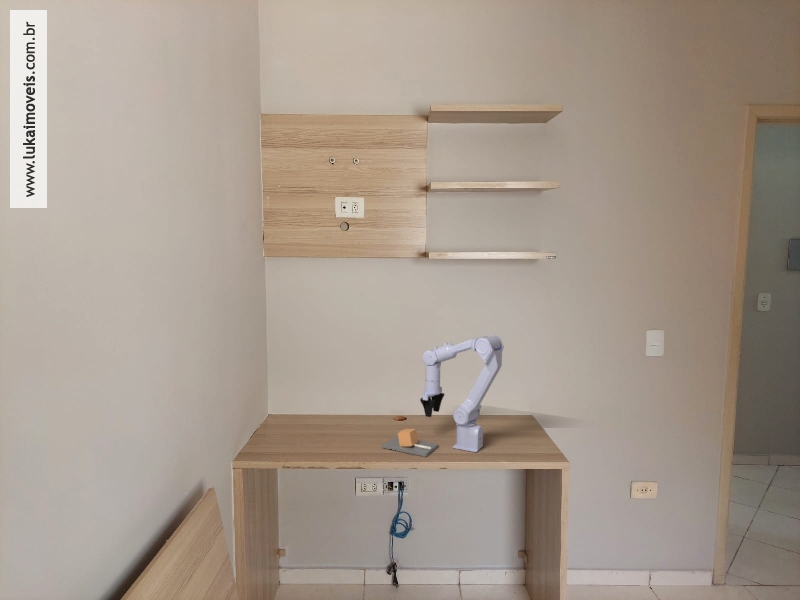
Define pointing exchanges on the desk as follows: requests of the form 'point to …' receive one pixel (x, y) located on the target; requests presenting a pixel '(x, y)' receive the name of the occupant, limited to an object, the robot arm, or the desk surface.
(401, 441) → the orange cube
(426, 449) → the plate
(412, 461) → the desk surface
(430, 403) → the robot arm
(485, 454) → the desk surface
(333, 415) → the desk surface
